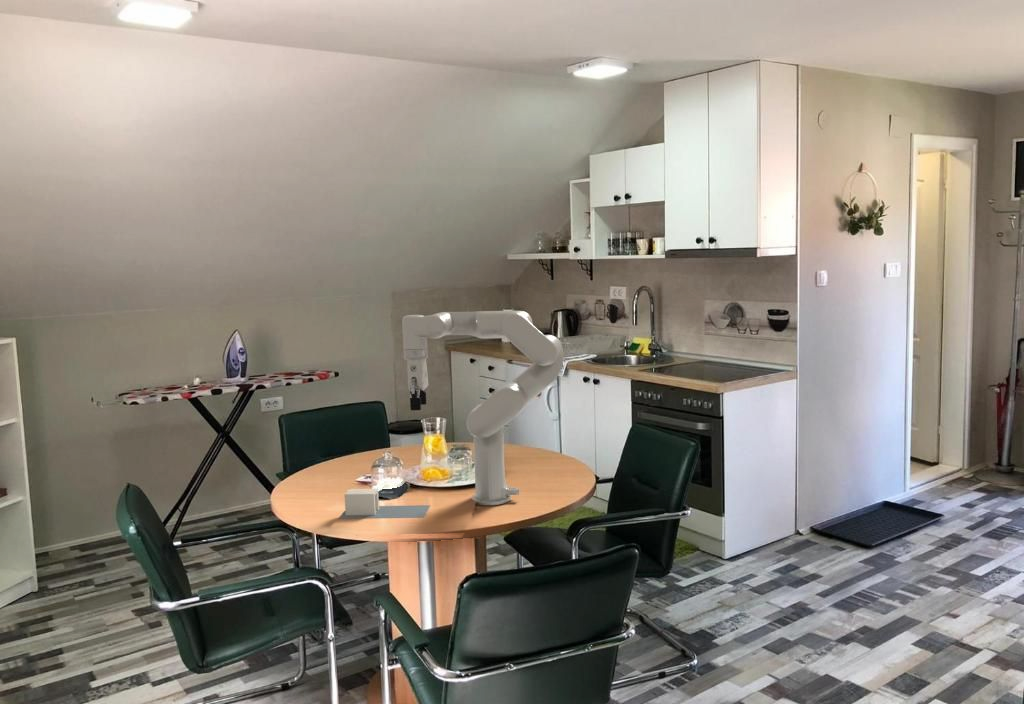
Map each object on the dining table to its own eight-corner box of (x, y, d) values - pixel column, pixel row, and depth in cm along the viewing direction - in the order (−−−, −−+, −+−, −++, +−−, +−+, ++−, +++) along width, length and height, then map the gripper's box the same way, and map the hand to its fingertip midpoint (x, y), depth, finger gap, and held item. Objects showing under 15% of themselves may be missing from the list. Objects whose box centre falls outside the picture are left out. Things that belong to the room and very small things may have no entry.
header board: (430, 508, 261) (429, 489, 260) (423, 521, 249) (422, 501, 248) (348, 510, 263) (347, 491, 262) (338, 522, 251) (336, 502, 250)
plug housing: (379, 509, 259) (377, 488, 258) (374, 514, 253) (373, 493, 253) (350, 509, 260) (349, 489, 259) (345, 515, 254) (344, 494, 253)
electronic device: (382, 495, 284) (369, 502, 269) (384, 479, 284) (371, 485, 269) (409, 499, 283) (397, 506, 268) (411, 482, 283) (399, 489, 268)
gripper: (422, 357, 257) (425, 412, 259) (432, 350, 274) (434, 402, 276) (398, 357, 257) (401, 412, 259) (409, 351, 274) (412, 402, 276)
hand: (418, 407), depth 268 cm, fingers open, 9 cm apart
